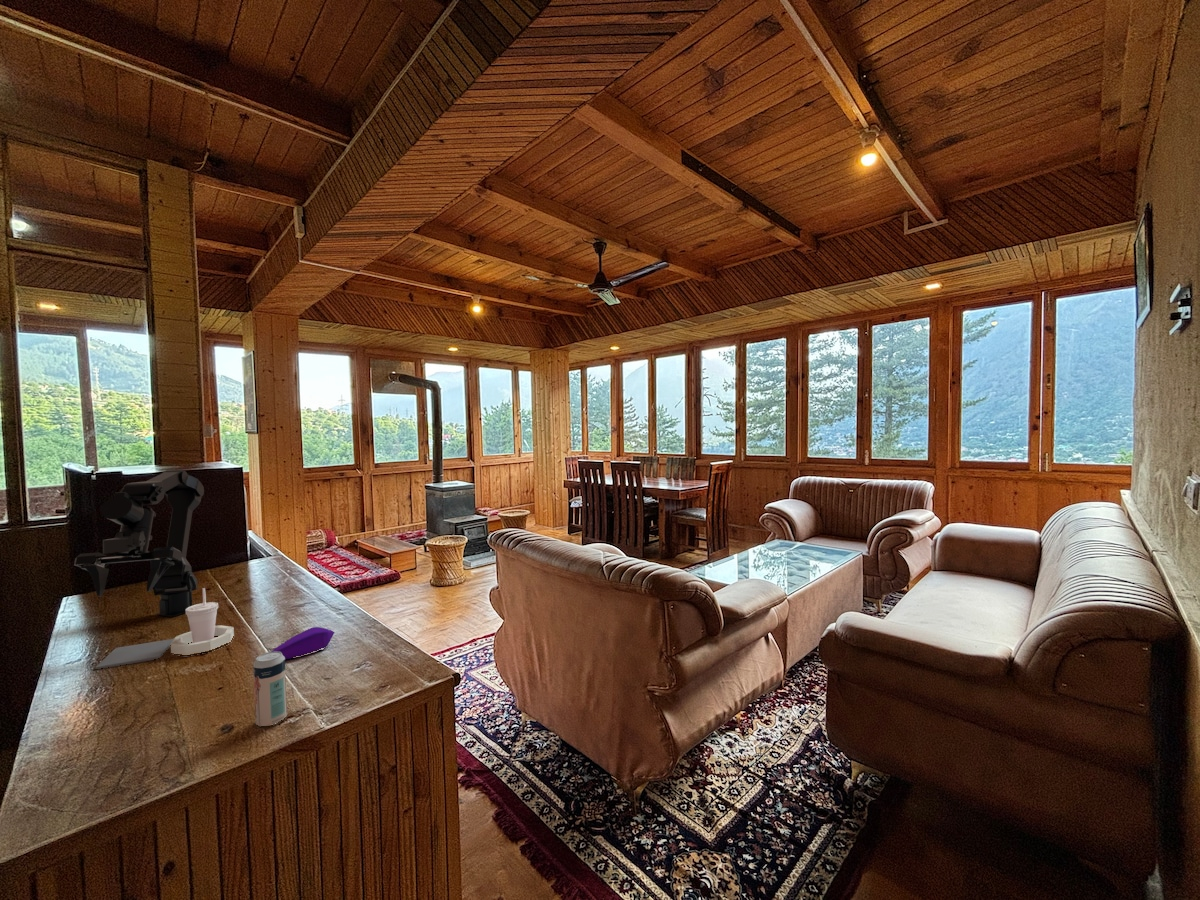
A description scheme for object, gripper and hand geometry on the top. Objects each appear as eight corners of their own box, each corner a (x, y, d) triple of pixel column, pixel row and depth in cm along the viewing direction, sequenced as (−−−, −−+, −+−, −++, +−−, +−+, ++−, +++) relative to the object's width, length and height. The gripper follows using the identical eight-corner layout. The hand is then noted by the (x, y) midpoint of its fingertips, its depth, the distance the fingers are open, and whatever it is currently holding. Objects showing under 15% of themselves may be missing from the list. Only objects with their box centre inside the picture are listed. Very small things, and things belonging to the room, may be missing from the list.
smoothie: (225, 642, 123) (223, 586, 122) (195, 652, 117) (193, 594, 117) (211, 637, 126) (208, 583, 125) (181, 648, 120) (178, 591, 119)
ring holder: (211, 633, 129) (210, 623, 129) (243, 638, 125) (243, 628, 125) (161, 652, 118) (160, 642, 118) (195, 658, 114) (195, 647, 114)
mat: (116, 650, 119) (116, 647, 119) (174, 640, 124) (174, 638, 124) (95, 669, 109) (95, 667, 109) (159, 658, 114) (159, 656, 114)
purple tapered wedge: (258, 646, 112) (329, 620, 123) (262, 666, 112) (332, 638, 123) (264, 652, 108) (336, 625, 120) (268, 673, 109) (339, 644, 120)
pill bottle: (265, 714, 91) (263, 650, 91) (292, 712, 92) (290, 649, 91) (249, 730, 87) (246, 663, 86) (278, 728, 87) (275, 661, 86)
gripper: (67, 524, 114) (50, 594, 108) (167, 518, 120) (157, 583, 115) (94, 536, 123) (81, 600, 118) (186, 530, 130) (177, 590, 124)
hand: (124, 593), depth 118 cm, fingers open, 9 cm apart
